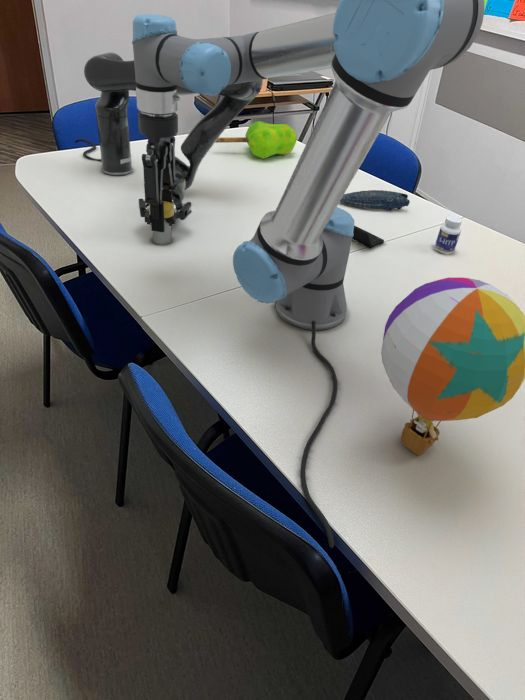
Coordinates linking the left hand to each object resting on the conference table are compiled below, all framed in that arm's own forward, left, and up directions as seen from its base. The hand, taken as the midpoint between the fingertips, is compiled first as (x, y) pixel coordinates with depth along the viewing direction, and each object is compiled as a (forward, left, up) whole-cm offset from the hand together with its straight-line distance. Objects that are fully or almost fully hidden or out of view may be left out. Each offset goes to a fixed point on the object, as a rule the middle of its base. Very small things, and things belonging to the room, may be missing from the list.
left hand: (159, 221), depth 127 cm
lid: (+13, -3, +10) cm, 17 cm away
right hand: (+13, -3, +6) cm, 15 cm away
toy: (+78, +20, -6) cm, 81 cm away
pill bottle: (+24, +71, -6) cm, 76 cm away
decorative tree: (-58, +52, -6) cm, 78 cm away
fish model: (-6, +69, -6) cm, 69 cm away
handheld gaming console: (+13, +51, -6) cm, 53 cm away
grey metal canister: (-2, +1, -6) cm, 7 cm away
